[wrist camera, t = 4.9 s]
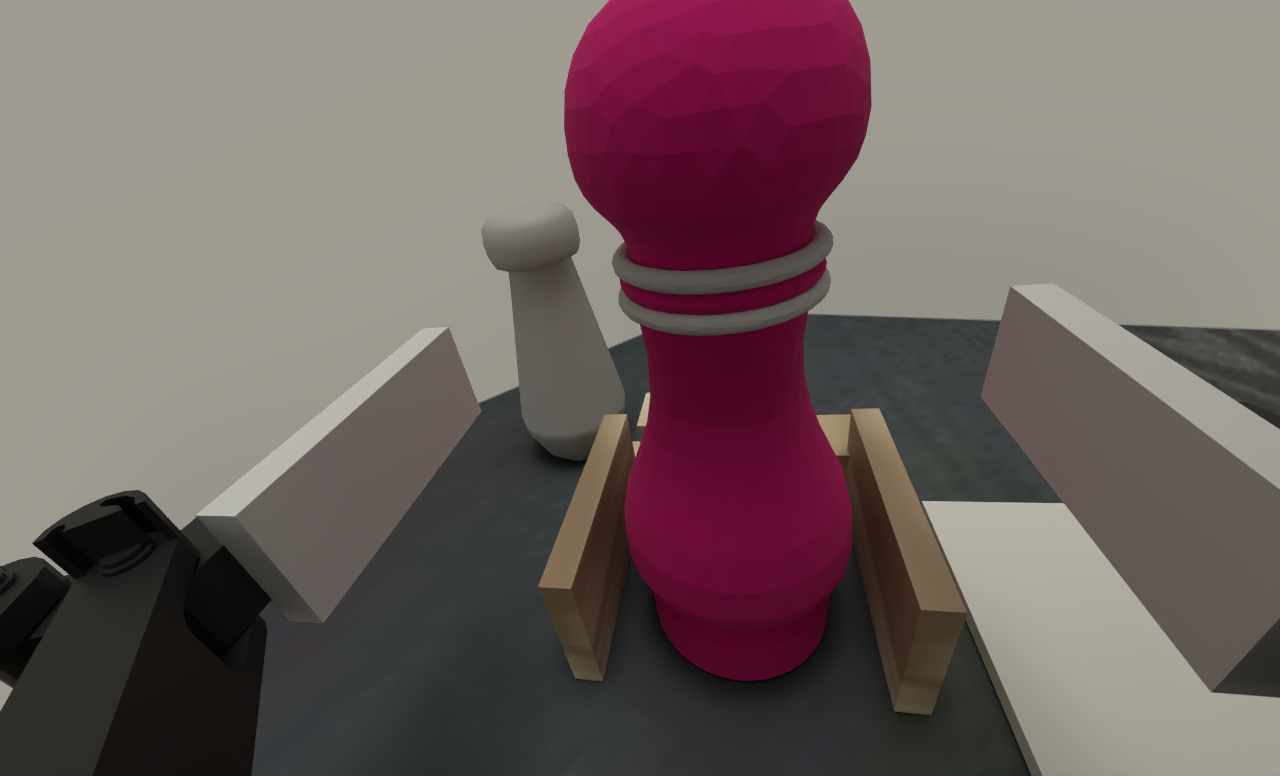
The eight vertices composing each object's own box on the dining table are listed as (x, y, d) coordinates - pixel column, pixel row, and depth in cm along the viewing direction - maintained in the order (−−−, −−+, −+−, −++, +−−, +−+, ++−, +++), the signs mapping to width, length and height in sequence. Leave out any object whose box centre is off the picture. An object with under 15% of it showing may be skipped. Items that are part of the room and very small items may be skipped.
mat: (1245, 518, 18) (1253, 506, 18) (1775, 977, 9) (1810, 969, 8) (919, 511, 20) (921, 501, 20) (1070, 867, 11) (1079, 859, 11)
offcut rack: (854, 463, 23) (864, 374, 21) (931, 715, 14) (967, 612, 11) (632, 463, 26) (616, 384, 23) (575, 678, 16) (538, 587, 14)
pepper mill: (609, 646, 17) (360, -145, 7) (687, 506, 22) (614, -66, 12) (821, 743, 14) (966, -523, 3) (855, 551, 19) (955, -186, 9)
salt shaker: (535, 483, 25) (448, 234, 19) (532, 423, 30) (462, 209, 23) (642, 454, 26) (596, 205, 19) (622, 401, 31) (579, 187, 24)
